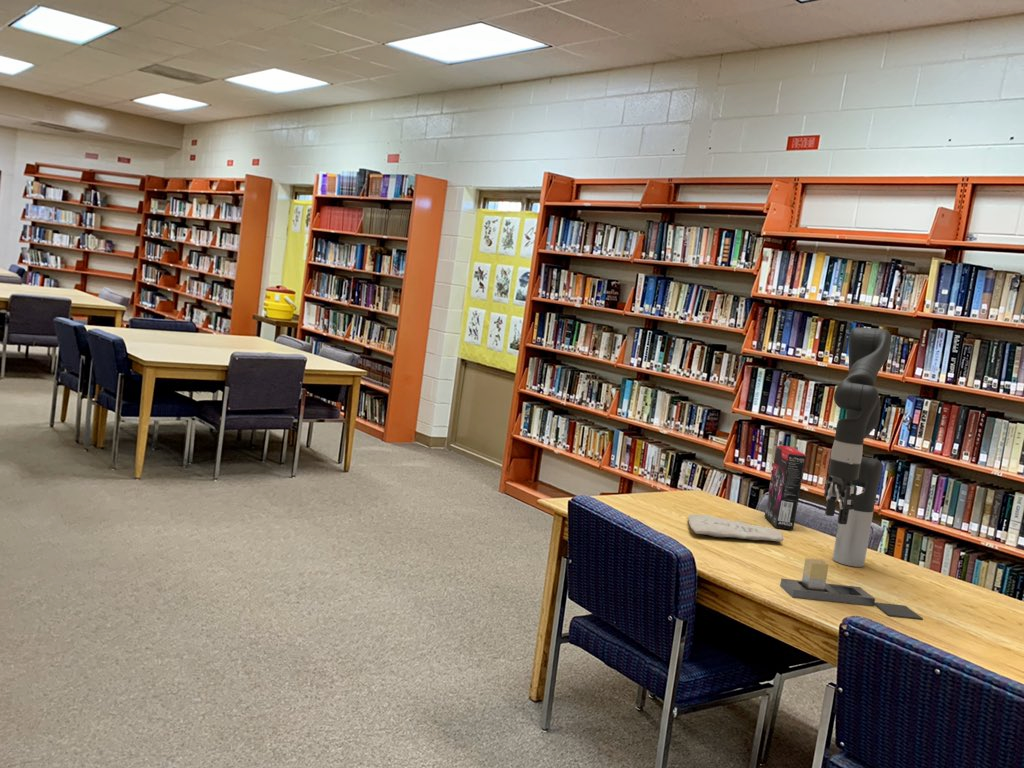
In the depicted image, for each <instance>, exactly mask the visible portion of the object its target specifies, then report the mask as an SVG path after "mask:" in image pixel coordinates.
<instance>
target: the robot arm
mask: <svg viewBox="0 0 1024 768" xmlns="http://www.w3.org/2000/svg"><path fill="white" fill-rule="evenodd" d="M891 346H892V336H891V333H890V331H889V330H887V329H883V328H876V327H875V328H874V327H873V328H872V327H854V328H852V329H851V331H850V332H849V337H848V374H847V376H846V377H845V378H844V379H843V380H842V381H841V382H840V383H838V385H837V387H836V388H835V391H834V393H833V394H834V395H833V400H834V403H835V404H836V406H837V407H838V408H840V409H842V410H845V411H846V412H845V413H846V417H845V418H841V419H839V420H838V421H837V424H836V430H835V435H834V440H833V445H832V447H831V452H830V458H829V464H828V471H827V474H828V475H827V477H826V483H825V488H824V493H823V496H824V498H825V500H826V506H825V515H826V516H828V517H829V516H830V517H833V516H834V515H835V512H836V506H837V501H838V502H839V510H838V515H837V516H838V517H837V523H838V525H837V530H836V536H835V541H834V548H833V554H832V560H833V561H834V562H836V563H839V564H842V565H845V566H847V567H848V566H849V567H854V568H855V567H857V568H861V567H864V566H865V563H866V557H867V553H868V552H867V551H868V546H869V540H870V535H871V529H872V522H873V516H874V510H875V505H876V501H877V500H876V499H877V493H878V489H879V485H880V481H881V477H882V471H883V465H882V461H881V460H878V459H876V458H873V457H872V458H871V457H866V456H863V449H864V448H863V446H864V441H865V439H866V438H867V436H868V435H870V434H871V433H872V431H873V430H874V429H875V428H876V427H877V426H878V423H879V422H880V417H881V415H880V414H881V398H880V395H879V394H880V393H879V391H878V390H877V388H876V386H875V384H876V381H877V377H878V374H879V372H880V371H881V369H882V367H883V366H884V365H885V363H886V361H887V360H888V357H889V355H890V352H891ZM858 487H861V488H864V491H863V492H861V493H858V494H857V492H858Z"/></svg>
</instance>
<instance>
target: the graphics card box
mask: <svg viewBox="0 0 1024 768" xmlns="http://www.w3.org/2000/svg"><path fill="white" fill-rule="evenodd" d="M806 459H807V454H805V453H803V452H802V451H800V450H798V449H797V448H795V447H794V446H788V445H777V446H776V447H775V454H774V460H773V463H772V471H771V476H770V482H769V488H768V493H767V498H766V499H767V500H766V505H765V511H764V518H766V519H767V520H768V521H769V522H770V523H771V525H772V526H773V527H775V528H777V529H783V530H784V529H785V530H790V531H794V528H795V522H796V517H797V516H796V515H797V512H798V510H797V509H798V506H799V505H798V504H799V499H800V493H801V487H802V483H803V476H804V471H805V463H806Z"/></svg>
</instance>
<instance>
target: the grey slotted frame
mask: <svg viewBox="0 0 1024 768" xmlns="http://www.w3.org/2000/svg"><path fill="white" fill-rule="evenodd" d="M801 583H802V580H799V579H791V578H790V579H788V578H780V584H779V586H780V587H781V588H782V589H783V590H784V591H785V593H787V594H789V596H791V597H792V598H797V599H807V600H815V601H822V602H823V601H825V602H834V603H842V604H843V603H845V604H851V605H852V604H853V605H863V606H871V607H874V606H875V605H874V603H875V602H876V598H875V597H873V595H871V594H870V593H869V592H867V591H866V590H864V589H863V588H862V587H861V586H854V585H845V584H835V583H828V582H826V585H825V591H824V592H823V591H813V590H805V589H804V588H803V587H802V586H801Z"/></svg>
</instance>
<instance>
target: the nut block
mask: <svg viewBox="0 0 1024 768" xmlns="http://www.w3.org/2000/svg"><path fill="white" fill-rule="evenodd" d="M829 565H830V564H828V563H826V562H825V561H824V560H823V559H818V558H817V559H816V558H809V557H808V558H807V557H805V558H804V566H803V573H802V577H801V581H802V583H801V586H802V587H803V588H804V589H805V590H813V591H823V592H824V591H825V585H826V583H827V577H828V571H829Z"/></svg>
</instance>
